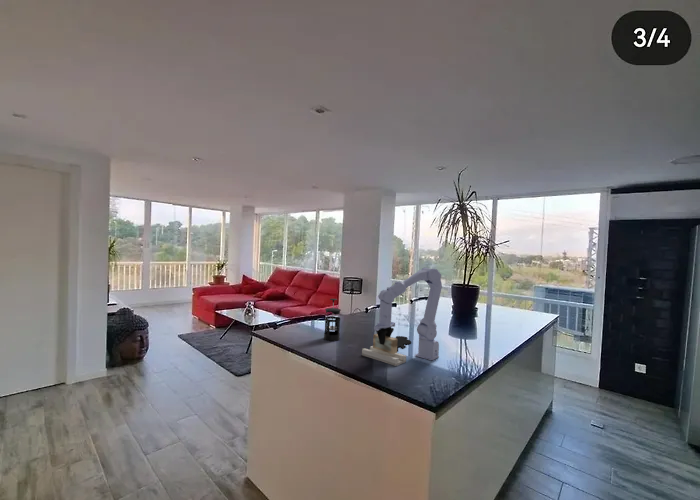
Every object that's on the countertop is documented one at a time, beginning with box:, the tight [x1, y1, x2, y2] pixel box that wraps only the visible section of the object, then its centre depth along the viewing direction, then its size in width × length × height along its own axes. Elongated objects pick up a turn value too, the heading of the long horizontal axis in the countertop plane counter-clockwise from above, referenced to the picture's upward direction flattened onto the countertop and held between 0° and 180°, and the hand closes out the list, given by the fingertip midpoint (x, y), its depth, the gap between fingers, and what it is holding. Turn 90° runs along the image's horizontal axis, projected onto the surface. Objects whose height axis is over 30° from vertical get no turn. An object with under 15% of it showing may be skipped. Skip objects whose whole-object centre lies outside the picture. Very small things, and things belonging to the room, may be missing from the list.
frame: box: [372, 333, 398, 354], centre depth 156 cm, size 12×3×6 cm, turn 48°
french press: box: [323, 298, 342, 342], centre depth 187 cm, size 12×9×23 cm
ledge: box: [361, 345, 407, 367], centre depth 156 cm, size 20×8×3 cm, turn 48°
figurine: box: [391, 335, 412, 353], centre depth 183 cm, size 16×1×30 cm
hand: (384, 343), depth 156 cm, fingers closed on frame, 3 cm apart
